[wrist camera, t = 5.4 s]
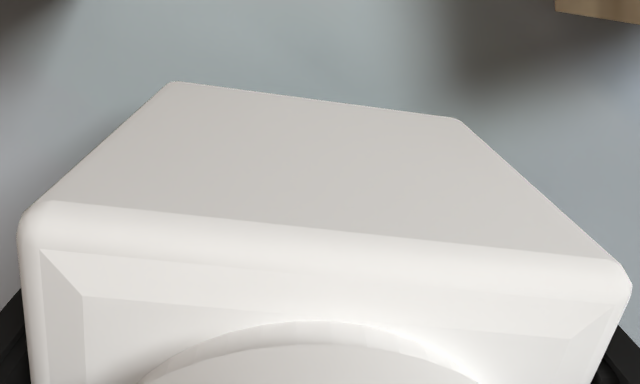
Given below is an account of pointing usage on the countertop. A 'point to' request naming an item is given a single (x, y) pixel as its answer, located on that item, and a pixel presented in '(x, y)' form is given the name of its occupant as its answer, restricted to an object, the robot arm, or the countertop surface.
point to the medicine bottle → (306, 254)
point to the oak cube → (602, 9)
